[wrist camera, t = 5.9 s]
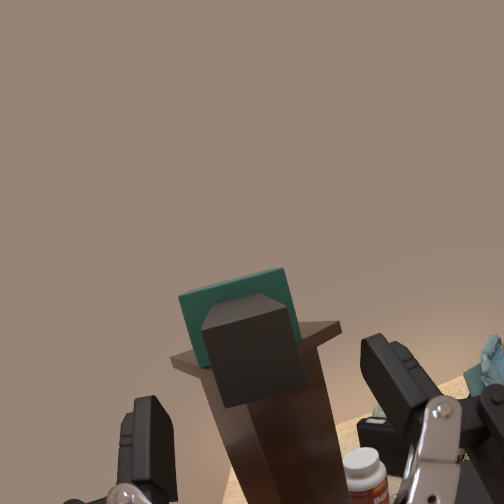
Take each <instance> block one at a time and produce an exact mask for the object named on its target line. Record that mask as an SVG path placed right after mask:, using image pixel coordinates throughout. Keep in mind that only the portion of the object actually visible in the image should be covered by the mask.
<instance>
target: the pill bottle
mask: <svg viewBox="0 0 504 504" xmlns="http://www.w3.org/2000/svg"><path fill="white" fill-rule="evenodd" d="M342 461H343V466H344V471H345V476H346V481H347V486H348V491H349V496H350V501H351V504H389V494H388V482H387V472H386V468H385V465H384V464H383V463H382V462H381V461H379V454H378V452H377V451H376V450H375V449H373V448H369V447H364V448H358V449H355V450H352V451H350V452H349V453H347V454H346V455H345V456H344V458H343V460H342Z"/></svg>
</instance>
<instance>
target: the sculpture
mask: <svg viewBox="0 0 504 504" xmlns="http://www.w3.org/2000/svg"><path fill="white" fill-rule="evenodd" d="M480 359H481V362H480V363H478V364H477V365H475V366H474V367H472V368H471V369H469V370H468V371H466V372H464V374H463V376H464V378H465V381H466V383H467V386H468V389H469V392H470V395H471V397H474V396H478V395H481V393H482V391H483V389H484V388H485V387H486V386H488V385H490V384H494V383H498V384H502V385H504V343H503V344H502V343H501V338H500V337H499V336H498V335H491V336H489V337H488V339H487V342H486V345H485V347H484V348H483V350H482V354H480Z"/></svg>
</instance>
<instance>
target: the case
mask: <svg viewBox="0 0 504 504" xmlns="http://www.w3.org/2000/svg"><path fill="white" fill-rule="evenodd" d="M178 298H179V302H180V305H181V309H182V313H183V316H184V319H185V323H186V326H187V330H188V333H189V336H190V340H191V343H192V346H193V350H194V353H195V356H196V359H197V362H198V365H199V368H200V369H202V368H206V367H210V366H211V369H212V372H213V375H214V378H215V381H216V384H217V387H218V390H219V393H220V396H221V399H222V402H223V405H224V408H226V409H227V408H231V407H235V406H239V405H243V404H247V403H250V402H254V401H258V400H261V399H265V398H268V397H272V396H275V395H279V394H282V393H285V392H289V391H292V390H295V389H298V388H301V387H304V386H307V381H306V377H305V373H304V369H303V365H302V361H301V358H300V354H299V350H298V346H297V342H299V341H302V336H301V332H300V328H299V324H298V321H297V317H296V313H295V309H294V305H293V301H292V298H291V294H290V290H289V287H288V283H287V280H286V275H285V272H284V269H283V268H276V269H268V270H265V271H261V272H257V273H254V274H250V275H246V276H243V277H239V278H235V279H232V280H228V281H224V282H220V283H217V284H213V285H209V286H205V287H202V288H198V289H194V290H190V291H188V292H186V293H184V294H182V295H179V296H178Z"/></svg>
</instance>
